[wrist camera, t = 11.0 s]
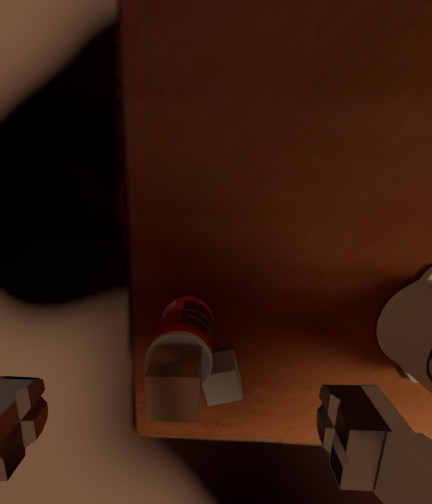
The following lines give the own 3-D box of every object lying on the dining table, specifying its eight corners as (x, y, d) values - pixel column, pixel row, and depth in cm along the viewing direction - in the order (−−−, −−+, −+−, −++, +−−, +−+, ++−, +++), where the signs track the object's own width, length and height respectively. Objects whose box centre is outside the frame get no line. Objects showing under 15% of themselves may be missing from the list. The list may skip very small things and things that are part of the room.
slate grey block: (233, 348, 43) (235, 369, 38) (240, 375, 44) (242, 399, 40) (201, 355, 44) (199, 376, 39) (209, 381, 45) (208, 406, 40)
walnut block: (201, 346, 31) (198, 377, 26) (201, 385, 32) (198, 422, 27) (156, 345, 31) (144, 376, 26) (157, 384, 32) (146, 420, 27)
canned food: (161, 340, 43) (143, 393, 32) (163, 291, 41) (144, 330, 30) (211, 344, 43) (209, 398, 32) (216, 295, 41) (215, 336, 30)
